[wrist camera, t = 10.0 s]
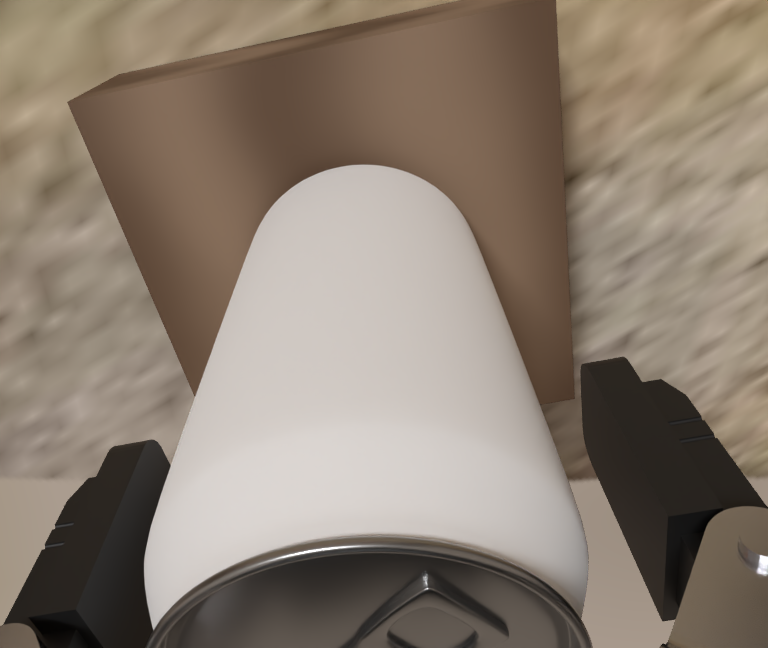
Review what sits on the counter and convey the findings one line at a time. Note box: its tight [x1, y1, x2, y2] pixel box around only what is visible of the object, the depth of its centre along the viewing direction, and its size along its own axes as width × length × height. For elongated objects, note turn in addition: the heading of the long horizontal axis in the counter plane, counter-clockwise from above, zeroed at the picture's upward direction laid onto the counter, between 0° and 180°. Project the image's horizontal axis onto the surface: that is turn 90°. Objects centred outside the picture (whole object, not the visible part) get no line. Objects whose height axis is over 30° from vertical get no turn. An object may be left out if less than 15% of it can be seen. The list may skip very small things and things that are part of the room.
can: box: [144, 165, 593, 648], centre depth 13 cm, size 6×6×12 cm
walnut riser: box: [67, 0, 575, 405], centre depth 20 cm, size 12×12×4 cm
